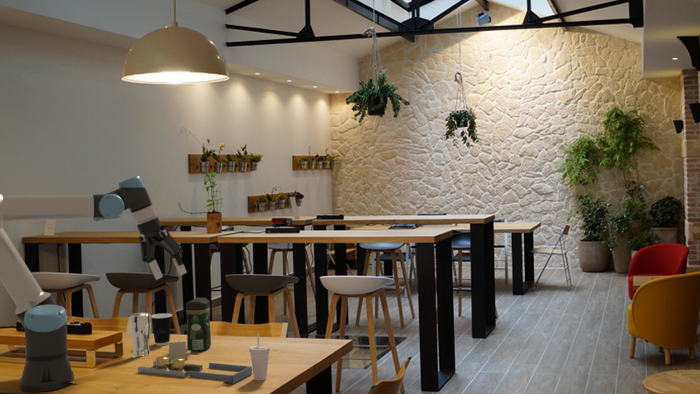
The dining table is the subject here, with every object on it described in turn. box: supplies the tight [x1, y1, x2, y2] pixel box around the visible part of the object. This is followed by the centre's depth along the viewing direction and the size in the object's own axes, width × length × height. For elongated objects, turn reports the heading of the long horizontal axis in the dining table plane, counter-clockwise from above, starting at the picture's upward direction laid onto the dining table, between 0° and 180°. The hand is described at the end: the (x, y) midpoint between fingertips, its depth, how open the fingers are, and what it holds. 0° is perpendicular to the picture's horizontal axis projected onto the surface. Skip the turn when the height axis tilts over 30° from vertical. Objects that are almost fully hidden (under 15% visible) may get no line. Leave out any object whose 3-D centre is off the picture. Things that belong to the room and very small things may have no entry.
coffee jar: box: [185, 297, 212, 352], centre depth 245 cm, size 10×8×19 cm
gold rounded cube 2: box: [170, 358, 186, 371], centre depth 210 cm, size 4×4×4 cm
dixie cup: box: [150, 312, 173, 347], centre depth 253 cm, size 8×8×11 cm
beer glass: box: [129, 312, 152, 359], centre depth 235 cm, size 7×7×15 cm
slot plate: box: [137, 360, 203, 379], centre depth 211 cm, size 9×18×2 cm, turn 68°
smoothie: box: [248, 332, 271, 381], centre depth 204 cm, size 6×6×14 cm
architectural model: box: [168, 340, 192, 361], centre depth 227 cm, size 3×7×7 cm, turn 96°
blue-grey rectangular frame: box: [189, 362, 253, 385], centre depth 207 cm, size 11×16×2 cm
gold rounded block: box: [155, 356, 170, 369], centre depth 212 cm, size 4×4×4 cm
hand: (171, 276), depth 231 cm, fingers open, 13 cm apart
